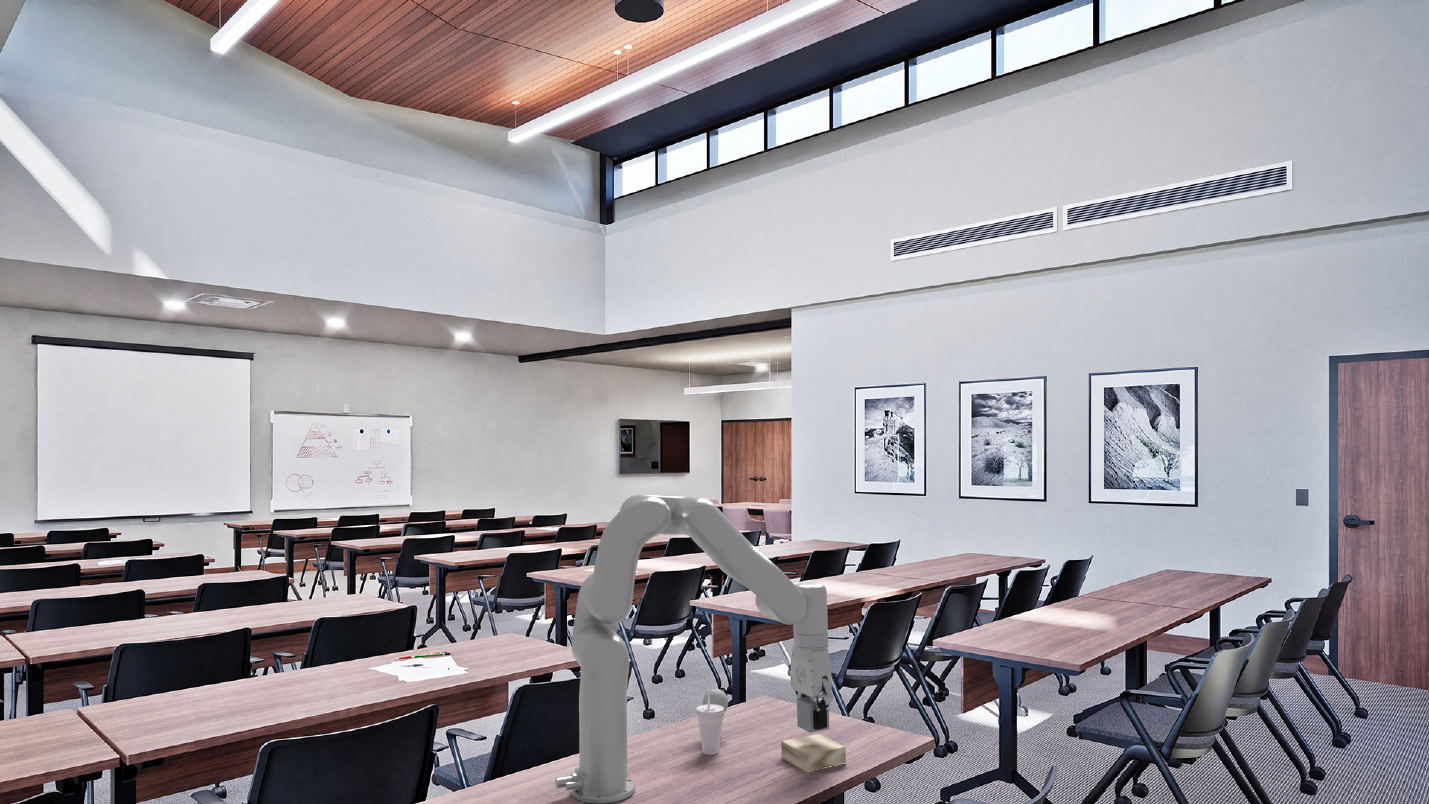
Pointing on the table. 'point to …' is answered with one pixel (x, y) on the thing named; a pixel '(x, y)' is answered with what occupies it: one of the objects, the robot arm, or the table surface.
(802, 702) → the grey block
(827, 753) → the maple block
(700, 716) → the smoothie
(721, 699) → the lightbulb
